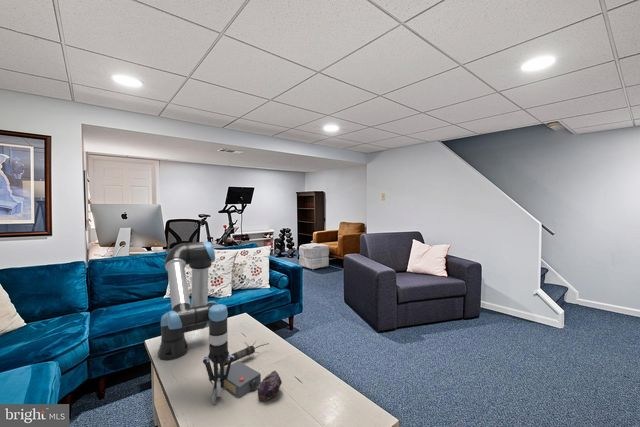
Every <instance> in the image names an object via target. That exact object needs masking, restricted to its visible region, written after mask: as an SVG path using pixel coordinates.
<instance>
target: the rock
mask: <svg viewBox="0 0 640 427" xmlns="http://www.w3.org/2000/svg"><path fill="white" fill-rule="evenodd" d="M282 384H283V382H282V379H281V376H280V375H279V373H278V372H277V370H271V371H270V373H269V374H267V375H266V376H265V377H264V378H263V379H262V380H261V383H260V385H258V386H257V388H256V389H257V398H258V399H259V400H260V401H261V402H265V401H268V400H269V399H273V398H275V397H276V396H277V394H278V392H279V391H280V387H281V385H282Z"/></svg>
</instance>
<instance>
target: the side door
mask: <svg viewBox="0 0 640 427" xmlns="http://www.w3.org/2000/svg"><path fill="white" fill-rule="evenodd" d="M211 403H213V405H217V388H216V389H215V388H213V395H212V397H211Z"/></svg>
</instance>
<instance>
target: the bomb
mask: <svg viewBox="0 0 640 427" xmlns="http://www.w3.org/2000/svg"><path fill="white" fill-rule="evenodd" d="M244 343H245V345H246V347H245V348H242V349H240V350H239V351H236V352H233V353H232V354H231V353H230V355H234V359H233V361H232V362H231V364H233V363H235V362H237V361H240V360H241V359H243V358H245V357H249V358H251V356H253V357H254V356H255V355H254V353H257V354H259V352H258V351H256V349H257V348H260V347H264V346H266V345H269V344H270V343H269V342H267V343H264V344H260V345H258V346H256V347H255V346H254V345H255V344H256V342H254V343H253V344H252V345H250V346H249V345H248V343H246V341H245V342H244ZM228 362H229V361H228V357H227V359H226V360H225V361H224V367H226V366H228Z"/></svg>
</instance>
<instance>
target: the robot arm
mask: <svg viewBox="0 0 640 427" xmlns="http://www.w3.org/2000/svg"><path fill="white" fill-rule="evenodd" d="M215 262H216V253H215V248H214V245H213V243H212V242H210V241H197V242H185V243H179V244H176V245H175V246H173V247H172V248H171V249H170V250H169V252H168V253H167V254H166V257H165V259H164V268H165V270H166V272H167V276H168V286H169V293H170V294H169V295H170V304H171V310H169V311H167V312H165V313H163V315H162V316H161V318H160V330H161V331H160V332H161V336H160V341H161V342H160V345H159V349H158V351H157V356H158V357H159V358H160V359H159V358H158V359H159V360H162V361H172V360H176V359H178V358H181V357H183V356H185V354H187V353H188V351H189V345H188V341H187V340H186V337H185V334H186V333H189V332H190V333H191V332H194V331H199V330H204V329H206V328H208V331H209V332H208V343H209V345H208V347H209V348H208V350H209V353H208V355H207V356H205V357H204V358H203V360H202V363H203V364H204V365H205V368H206V369H205V370H206V372H207V373H206V374H207V375H208V379H209V381H210V382H212V381H213V384H214V386H213V387H214V388H215V389H216V388H217V395H216V398H217V397H218V398H219V397H220V398H221V397H222V393H223V388H224V380H226V379H227V378H228V375H229V370H230V366H231V365H232V363H233V362H232V361H233V359H234V355H231V353H230V352H229V350H228V349H229V346H228V344H229V342H228V340H229V339H228V335H229V334H228V332H229V331H228V314H229V313H228V306H226V305H225V304H221V303H220V304H219V303H218V302H216V301H214V300H212V301H208V295H209V292H208V291H209V270H210V268H211V267H212V263H215ZM187 265H188V266H189V268H190V269H191V300H190V294H189V287H188V281H187V276H186V275H187V274H186V270H185V268H186V266H187ZM227 357H228V361H229V362H228V365H226V366H227V370H226V374H225V375H224V369H225V366H224V361H225V360H226V359H227ZM210 361H211V362H210ZM231 362H232V363H231ZM211 363H212V364H213V368H212V366H211ZM219 371H220V378H218V372H219ZM214 388H213V389H214Z"/></svg>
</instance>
